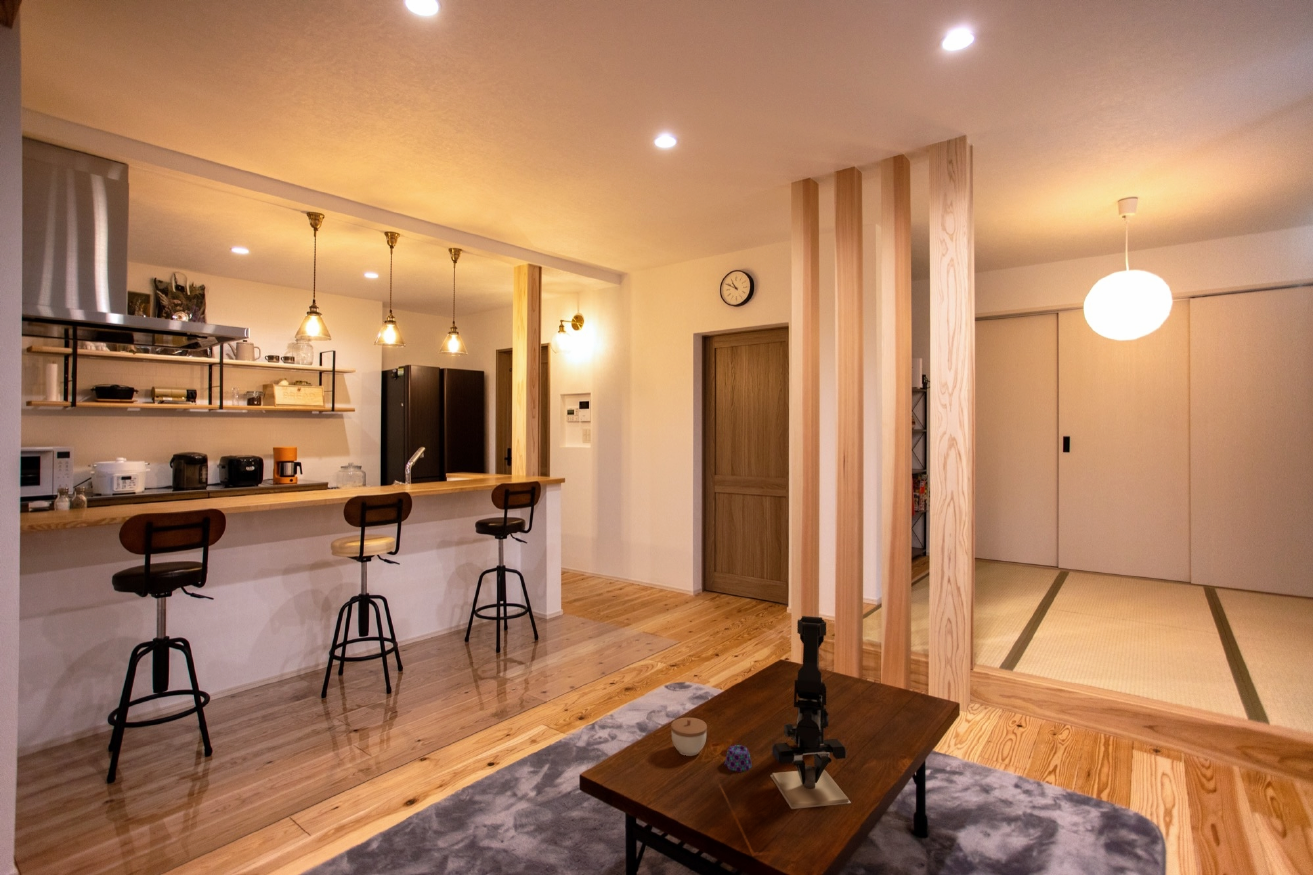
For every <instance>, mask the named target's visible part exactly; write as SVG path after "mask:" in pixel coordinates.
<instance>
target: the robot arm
mask: <svg viewBox="0 0 1313 875" xmlns="http://www.w3.org/2000/svg"><path fill="white" fill-rule="evenodd" d="M796 624H797V626H796V627H797V628H796V629H797V634H799V639H800V641H801V643H802V644H803V645H802V646H803V647H802V650H803V651H802V653H803V654H802V666H801V667H800V668H799V669H798V670H797V678H795V679H794V686H793V687H794V690H793V691H794V693H793V694H794V695H793V707H794V708H797V718H796V719H797V720H796V725H794V726H793V724H791V723H786V724H784V725H783V735H784V736H785V737H786V738H790V739H791V740H794V744H795V745H797V746H796V747H792V746H790V745H789V744H788V742H778V743H777V742H776V743H774V744H773V746H772V747H771V750H772V751H771V752H772V755H773V756H774V758H775V759H776V761H777V763H779V764H781V765H782V764H783V765H784V764H785V765H786V764H793V765H794V766H795V767H796V771H798V773H799V776H800V780H801V782H802V784H804V782H805V766H806V762H805V761H804V759H803V756H806V755H813V758H814V759H813V762H814V763H813V764H814V765H813V767H814V768H815V783H817V782H818V780H819V778H820V776H821V774H822V772H823V771H824V769H826V768H827V766H828V765H829V764H830V763H832V761H833V760H832V758H831V757H830V755H831V754H832V757H833V758H835V759H836V760H840V759H841V760H842V759H843V760H844V759H847V754H848V752H847V748H846V746H844V744H843V743H842V742H840V740H839V739H838V738H827V739H824V738H825V737H824V736H825V734H824V732H825V729H827V728H828V727H829V712H828V711H827V708H826V707H825V706H827V686H826V683H825V681H824V682H823V681H822V680H823V678H822V672H821V670H820V668H819V667H820V665H819V663H820V661H819V660H820V656H819V655H820V654H819V653H820V652H819V651H820V650H819V648H820V647H821V646H822V644H823V643H824V639H825V637H826V636H827V621H825V620H824V619H823V617H822V616H819V617H818V616H811V615H810V616H808V615H807V616H806V615H802V616H801V618H799V619H797V623H796ZM797 698H799V699H797ZM830 753H831V754H830Z"/></svg>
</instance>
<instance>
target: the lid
mask: <svg viewBox="0 0 1313 875" xmlns="http://www.w3.org/2000/svg"><path fill="white" fill-rule="evenodd" d="M825 769H826V768H825ZM825 769H824V771H823V772H822V774H821V776H820V778H819V780H818V782H817V783H815V768H814V765H813V766H812V765H805V782H804V784H802V782H801V780H800V776H799V773H798V770H792V771H785V772H784V771H782V772H772V773H771V775H772V776H773V778H774V779H775V781H776V782H777V784H778V785H779V787H780V788H781V790H782V792H783V793H784V795H785V796H786V798H787V799H788V801H789V802H790V804H791V805H792V807H802V806H812V805H823V804H833V803H843V802H849V801H850V799H849V797H848V796H847V794H845V793H844V790H842V789H841V788H840V787H839V785H838V784H837V783H836V782H835V780H834V779H833V778H832V777H831V775H830V774H829V773H828V771H826V770H825Z"/></svg>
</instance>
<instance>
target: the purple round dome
mask: <svg viewBox="0 0 1313 875" xmlns="http://www.w3.org/2000/svg"><path fill="white" fill-rule="evenodd" d="M725 756H726V757H725V759H724V767H727V769H728V770H730V771H735V772H736V773H737V772H740V773H741V772H747V771H749V770H750V768H751V769H752V767H753V765H752V760H751V755H750V751H749V749H748V747H746V746H743V745H741V744H738V745H736V744H734V745H731V746H729V747H728V749H727V752H726V755H725Z"/></svg>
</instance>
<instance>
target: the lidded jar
mask: <svg viewBox="0 0 1313 875" xmlns="http://www.w3.org/2000/svg"><path fill="white" fill-rule="evenodd" d="M670 729H671V731H670V732H671V740H672V744H673V747H675V749H676V750H677V751H678V753H679V754H681V755H682V756H685V755H686V757H693V756H697V755H698V754H699V753H700V751H702V749H703V748H704V747H705V744H706V740H707V733H708V732H707V730H708V725H707V723H706V722H705V721H704V720H702V719H701V718H700V719H699V718H696V717H681V718H678V719H675V720H673V721H672V722H671V724H670Z"/></svg>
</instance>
